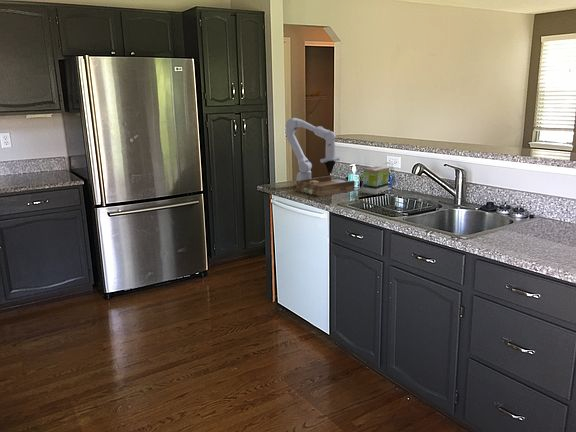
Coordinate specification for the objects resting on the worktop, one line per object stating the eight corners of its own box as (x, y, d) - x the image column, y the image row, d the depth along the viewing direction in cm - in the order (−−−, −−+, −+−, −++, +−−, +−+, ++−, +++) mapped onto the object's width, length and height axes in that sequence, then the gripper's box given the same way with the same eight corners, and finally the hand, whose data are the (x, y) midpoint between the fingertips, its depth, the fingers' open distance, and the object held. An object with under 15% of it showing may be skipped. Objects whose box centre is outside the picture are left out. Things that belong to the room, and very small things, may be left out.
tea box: (377, 195, 302) (378, 170, 299) (362, 192, 308) (362, 168, 305) (388, 190, 314) (389, 166, 310) (374, 188, 320) (374, 165, 316)
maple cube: (309, 187, 309) (309, 181, 308) (314, 186, 312) (314, 180, 311) (313, 188, 306) (313, 181, 305) (318, 187, 309) (318, 181, 308)
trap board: (296, 190, 315) (296, 181, 314) (330, 185, 332) (330, 175, 331) (320, 196, 299) (320, 186, 297) (354, 190, 315) (354, 180, 314)
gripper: (325, 152, 311) (325, 175, 314) (343, 151, 320) (342, 172, 323) (318, 151, 316) (317, 173, 320) (335, 149, 325) (334, 171, 328)
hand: (329, 172), depth 322 cm, fingers closed
